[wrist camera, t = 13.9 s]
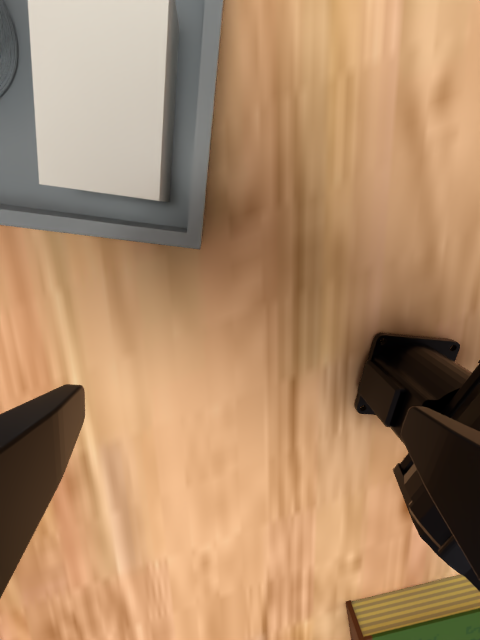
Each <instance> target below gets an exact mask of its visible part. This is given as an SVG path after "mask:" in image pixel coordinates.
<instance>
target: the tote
mask: <svg viewBox="0 0 480 640" xmlns="http://www.w3.org/2000/svg"><path fill="white" fill-rule="evenodd" d="M3 1H4V3H5V5H6V7H7V9H8V12H9V14H10V16H11V19H12V22H13V25H14V29H15V34H16V40H17V63H16V68H15V72H14V75H13V78H12V80H11V82H10V84H9V86H8V87H7V89H6V90H5V91H4V93H3V94H2V95H1V96H0V225H6V226H14V227H22V228H30V229H38V230H47V231H55V232H63V233H71V234H79V235H87V236H95V237H104V238H112V239H120V240H128V241H136V242H144V243H152V244H161V245H169V246H177V247H185V248H193V249H200V248H201V242H202V232H203V221H204V211H205V200H206V189H207V178H208V167H209V156H210V146H211V135H212V124H213V113H214V102H215V92H216V81H217V70H218V59H219V48H220V38H221V27H222V16H223V5H224V0H175V3H176V10H177V16H178V22H179V43H178V60H177V77H176V94H175V111H174V128H173V145H172V162H171V179H170V196H169V202H164V201H156V200H149V199H142V198H135V197H128V196H120V195H113V194H106V193H99V192H92V191H85V190H78V189H71V188H64V187H56V186H49V185H42V184H39V172H38V156H37V141H36V125H35V109H34V93H33V77H32V61H31V45H30V29H29V13H28V0H3Z"/></svg>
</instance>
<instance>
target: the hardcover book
mask: <svg viewBox="0 0 480 640" xmlns="http://www.w3.org/2000/svg"><path fill="white" fill-rule="evenodd" d="M346 607H347V614H348V620H349V627H350V634H351V640H480V591H479V590H478V589H477V588H476V587H475V586H474V585H473V584H472V583H471V582H470V581H469V580H468V579H467V578H466V577H465V576H463V575H457V576H453V577H449V578H445V579H441V580H437V581H433V582H429V583H425V584H421V585H417V586H413V587H409V588H405V589H401V590H397V591H393V592H389V593H385V594H381V595H376V596H372V597H368V598H364V599H360V600H356V601H352V602H351V601H346Z"/></svg>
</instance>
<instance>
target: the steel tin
mask: <svg viewBox="0 0 480 640" xmlns="http://www.w3.org/2000/svg"><path fill="white" fill-rule="evenodd" d="M16 63H17V40H16V34H15V29H14V25H13V22H12V19H11V16H10V14H9V12H8V9H7V7H6V5H5V3H4V1H3V0H0V96H1V95H2V94H3V93H4V91H5V90H6V89H7V87H8V86H9V84H10V82H11V80H12V78H13V75H14V72H15V68H16Z"/></svg>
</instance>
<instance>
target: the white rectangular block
mask: <svg viewBox="0 0 480 640" xmlns="http://www.w3.org/2000/svg"><path fill="white" fill-rule="evenodd" d="M28 13H29V29H30V45H31V61H32V77H33V93H34V109H35V125H36V141H37V156H38V172H39V184H42V185H49V186H56V187H64V188H71V189H78V190H85V191H92V192H99V193H106V194H113V195H120V196H128V197H135V198H142V199H149V200H156V201H164V202H169V196H170V179H171V162H172V145H173V128H174V111H175V94H176V77H177V60H178V43H179V22H178V16H177V10H176V3H175V0H28Z"/></svg>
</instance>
